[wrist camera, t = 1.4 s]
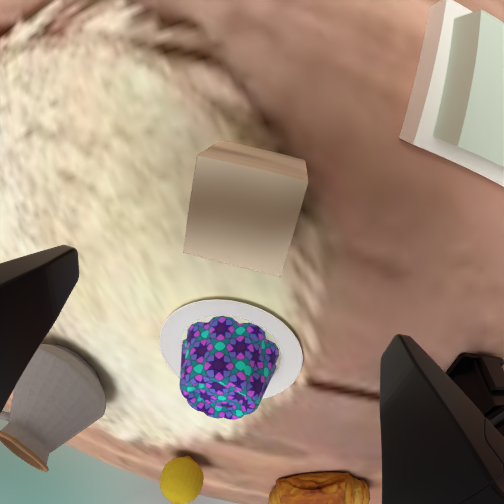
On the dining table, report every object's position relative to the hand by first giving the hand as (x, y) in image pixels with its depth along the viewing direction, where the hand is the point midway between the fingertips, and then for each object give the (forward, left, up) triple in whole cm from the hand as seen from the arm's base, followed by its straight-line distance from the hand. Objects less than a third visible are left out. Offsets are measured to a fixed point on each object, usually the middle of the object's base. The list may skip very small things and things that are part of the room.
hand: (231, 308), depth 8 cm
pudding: (-15, 0, -13) cm, 20 cm away
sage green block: (+9, -11, -10) cm, 17 cm away
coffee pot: (-25, +22, -13) cm, 35 cm away
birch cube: (-1, +1, -12) cm, 12 cm away
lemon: (-38, +2, -13) cm, 40 cm away
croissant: (-41, -18, -13) cm, 46 cm away
